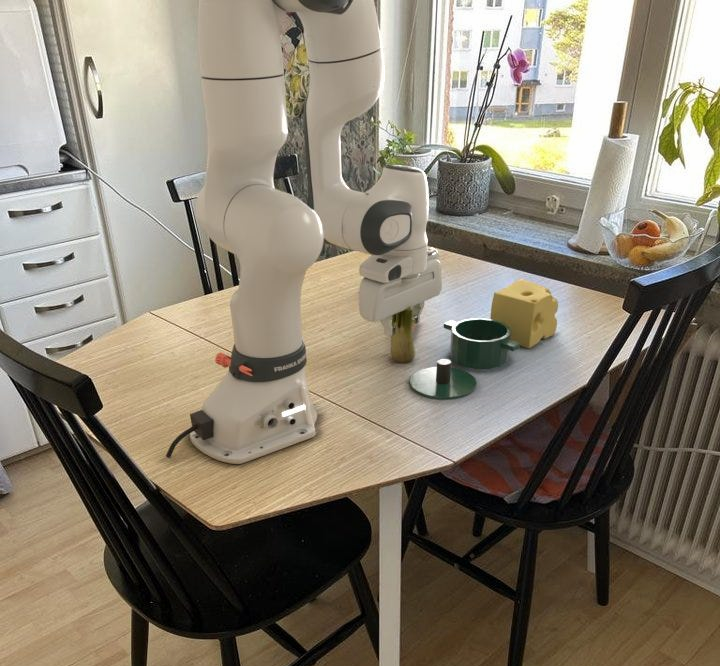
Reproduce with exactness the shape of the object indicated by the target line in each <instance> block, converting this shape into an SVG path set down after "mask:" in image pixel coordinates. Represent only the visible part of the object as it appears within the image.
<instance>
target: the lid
mask: <svg viewBox="0 0 720 666" xmlns="http://www.w3.org/2000/svg"><path fill="white" fill-rule="evenodd" d="M409 386H410V389H412V390H413V391H414V392H415V393H416V394H418V395H420V396H422V397H425V398H429V399H435V400H456V399H461V398H464V397H468V395H470V394H472V393H473V392H475V390H476V388H477V379H476V378H475V376H474V375H473V374H471V373H470V372H468V371H466V370H464V369H461V368H457V367H453V366H452V360H451V359H448V358H440V359H437V361H436V366H431V367H426V368H422V369H419V370H418V371H415V372H414V373H413V374H412V375H411V376H410V379H409Z"/></svg>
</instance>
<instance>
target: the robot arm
mask: <svg viewBox="0 0 720 666" xmlns="http://www.w3.org/2000/svg"><path fill="white" fill-rule="evenodd" d="M197 12H198V13H197V40H198V41H197V44H198V45H197V46H198V47H197V48H198V58H199V59H198V60H199V61H198V62H199V72H200V79H201V81H200V82H201V89H202V96H203V105H204V114H205V122H206V124H205V125H206V133H207V160H206V167H205V168H206V170H205V177H204V185H203V187H202V188H201V189H200V191H199V193H198V195H197V198H196V201H195V216H196V221H197V223H198V225H199V227H200V228H201V230H202V231H203V232H204V233H205V235H206V236H207V237H208V238H209V239H210V240H211V241H212V242H213V243H214V244H215V245H216V246H217V247H219V248H221V249H222V250H225V251H226V252H229V253H231V254H233V255H235V256H236V257H237V259H238V262H239V266H240V267H239V269H240V272H239V274H240V275H239V282H238V288H237V290H235V291H234V292H233V294H232V295H231V298H230V301H229V309H230V310H229V311H230V316H231V317H230V318H231V324H232V325H231V326H232V332H233V340H234V344H233V346H232V350H231V355H227V354H226V353H224V352H218V353H217V354H216V355H215V357H214V361H215V363H216V364H217V365H218V366H219V365H220V366H222V367H223V368H228V371H227V372H226V374H225V375H224V376H223V377H222V378H221V380H220V382H218V384H217V385H216V387H214V389H213V390H212V391H211V393H209V395H207V397H206V399H204V401H203V402H202V406H201V409H200V410H197V411H193V412H192V413H189V418H190V422H191V427H189V428H188V429H186V430H184V431H183V432H181V433H180V434H179V435H178V436H176V438H175V439H173V441H172V443H171V444H170V446H169V448H168V450H167V452H166V455H165V457H166V458H168V459H171V457H172V455H173V452H174V451H175V449H176V447H177V445H178V444H179V443H180V442H181V441H182V440H183V439H184V438H186V437H187V436H188V435H189V439H190V440H189V441H190V442H191V443H192V445H193V446H194V447H195V448H196V449H197V450H199V451H200V452H201V453H203V454H204V455H206V456H208V457H209V458H212V459H214V460H216V461H219V462H223V463H227V464H232V465H242V464H244V463H247V462H251V461H253V460H255V459H259V458H260V457H264V456H266V455H269V454H272V453H275V452H277V451H280V450H282V449H286V448H288V447H292V446H293V445H297V444H300V443H302V442H305V441H307V440H309V439H312V438H314V437H315V436H316V434H317V432H316V428H315V427H316V425H315V424H316V422H317V420H318V412H317V410H316V407H315V404H314V402H313V399H312V396H311V393H310V387H309V383H308V378H307V373H306V372H307V370H306V365H307V361H308V359H307V349H306V342H305V339H304V338H303V328H302V311H301V309H302V307H301V300H302V299H301V297H302V289H303V285H304V280H305V277H306V273H307V271H308V269H310V268H311V267H312V266H313V265H314V264H315V263H316V262H317V260H318V259H319V257H320V255H321V252H322V250H323V247H324V245H327V246H334V247H340V248H344V249H348V250H351V251H354V252H358V253H362V254H366V255H369V257H368V258H367V259H365V260H364V261H363V262H362V263H361V264H360V265H359V268H358V270H359V271H358V272H359V275H360V276H361V277H363V278H362V279H361V281H360V283H359V290H358V312H359V315H360V317H361V318H362V319H363V320H365V321H367V322H371V323H374V324H375V323H378V322H380V323H381V325H382V327H383V335H384V336H386V337H388V338H389V337H390V338H391V336H392V335H394V334H395V333H396V332H395V330H396V326H393V325H392V315H394V314H396V313H399V312H401V311H403V310H406V309H407V308H408V307H413V308H412V325H413V326H414V325H416V324H417V325H419V324H420V321H421V315H422V312H423V310H424V308H425V302H426V301H429V300H431V299H433V298H435V297H438V296H439V295H440V294H441V292H442V290H443V273H442V264H441V262H440V253H439V251H438V250H437V249H435V248H434V247H431V248H428V242H429V241H428V236H427V231H426V230H427V226H428V222H429V212H430V196H429V184H428V179H427V174H426V172H424V170H423V169H421V168H418V167H416V166H415V167H414V166H409V165H402V164H388V165H385V166H383V168H382V170H381V175H380V177H379V179H378V181H376V183H375V184H374V185H373V186H372V187H371V188H369V189H368V190H366V191H365V192H363V191H358V190H355V189H351V188H350V187H349V186H348V185H347V184H346V182H345V181H344V179H343V175H342V174H343V173H342V171H343V170H342V150H341V149H342V148H341V147H342V145H341V135H342V131H343V128H344V126H345V124H346V123H348V122H350V121H352V120H355V119H356V118H358V117H360V116H361V115H363V114H364V115H365V113H366V112H368V111H369V110H370V109H371V108H372V107H373V106H374V105H375V104H376V102H377V101H378V100H379V97H380V95H381V94H382V91H383V89H384V82H385V65H384V64H385V62H384V53H383V46H382V45H383V44H382V38H381V30H380V25H379V18H378V14H377V9H376V4H375V0H198V11H197ZM287 13H296V15H297V16H298V18H299V20H300V22H301V24H302V27H303V36H304V43H305V50H306V58H307V63H308V64H307V65H308V74H309V89H308V93H307V95H306V96H305V99H304V104H303V138H304V139H303V140H304V149H305V162H306V163H305V164H306V176H307V177H306V178H307V200H306V203H305V202H304V201H303V200H301V199H300V198H298V197H297V196H296V195H293V194H291V193H289V192H285V191H283V190H279V189H277V188H275V183H274V175H275V167H276V163H277V162H276V161H277V157H278V155H279V151H280V150H281V149H282V148H283V146H284V145H285V143H286V142H287V139H288V136H289V127H288V126H289V125H288V111H287V110H288V109H287V96H286V95H287V94H286V81H285V66H284V57H283V48H282V40H281V32H282V31H281V30H282V26H283V22H284V19H285V16H286V14H287Z"/></svg>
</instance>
